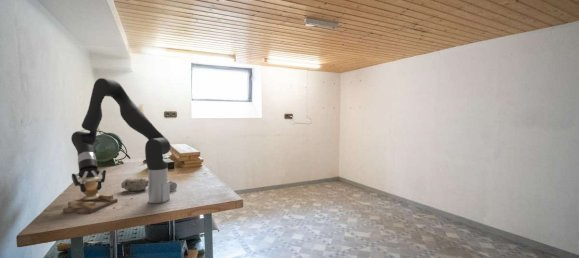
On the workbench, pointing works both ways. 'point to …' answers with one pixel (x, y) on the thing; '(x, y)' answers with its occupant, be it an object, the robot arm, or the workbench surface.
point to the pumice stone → (134, 184)
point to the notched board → (89, 204)
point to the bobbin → (90, 188)
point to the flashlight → (173, 186)
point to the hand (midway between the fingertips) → (91, 190)
